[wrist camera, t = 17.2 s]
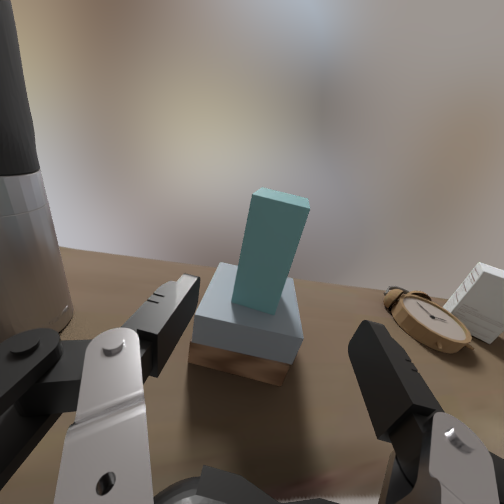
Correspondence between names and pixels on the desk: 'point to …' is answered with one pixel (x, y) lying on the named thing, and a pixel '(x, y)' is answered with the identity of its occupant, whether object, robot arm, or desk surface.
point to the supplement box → (480, 302)
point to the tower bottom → (238, 363)
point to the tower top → (247, 321)
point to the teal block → (268, 248)
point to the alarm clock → (427, 320)
